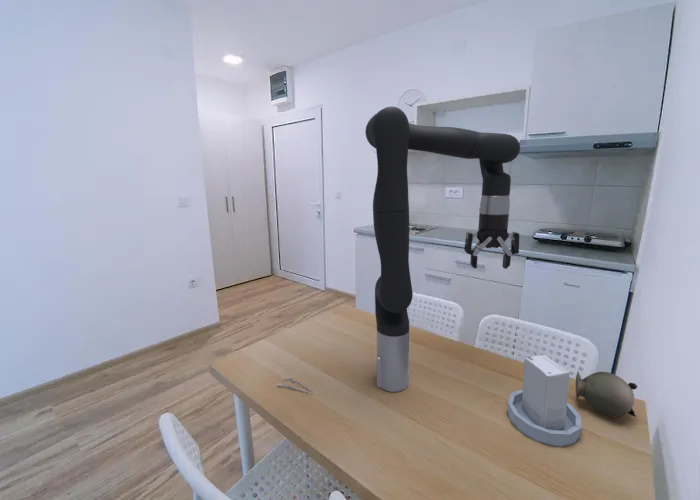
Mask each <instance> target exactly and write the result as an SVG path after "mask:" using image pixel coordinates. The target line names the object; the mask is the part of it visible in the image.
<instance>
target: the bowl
mask: <svg viewBox="0 0 700 500" xmlns="http://www.w3.org/2000/svg"><path fill="white" fill-rule="evenodd" d="M522 393H523V388H522V389H519V390H516V391H514V392H511V393H510V394H509V398H508V402H507V408H506V409H507V410H506V412H507V416H508V418H509V421H510V422H511V423H512V425H513V426H514V427H515V428H516V429H517V430H518V431H519V432H521V433H522V434H523V435H524V436H527V438H529V439H532V440H533V441H536V442H538V443H541V444H544V445H547V446H552V447H568V446H571V445H573V444H575V443H577V441H578V440H579V438H580V437H581V430H582V417H581V416H580V414H579V413H578V411H577V410H576V409H575V408H574V406H573V405H572V404H570V403H568V402H567V409H566V421H565V428H564V429H562V430H548V429H545V428H543V427H540V426H537V425H536V424H535V423H534V421H533V420H532V419H531V418H530V417H529V416H528V415H527V414H526V413H525V412H524V411H523V410H522V409H521V408H522Z"/></svg>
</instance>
